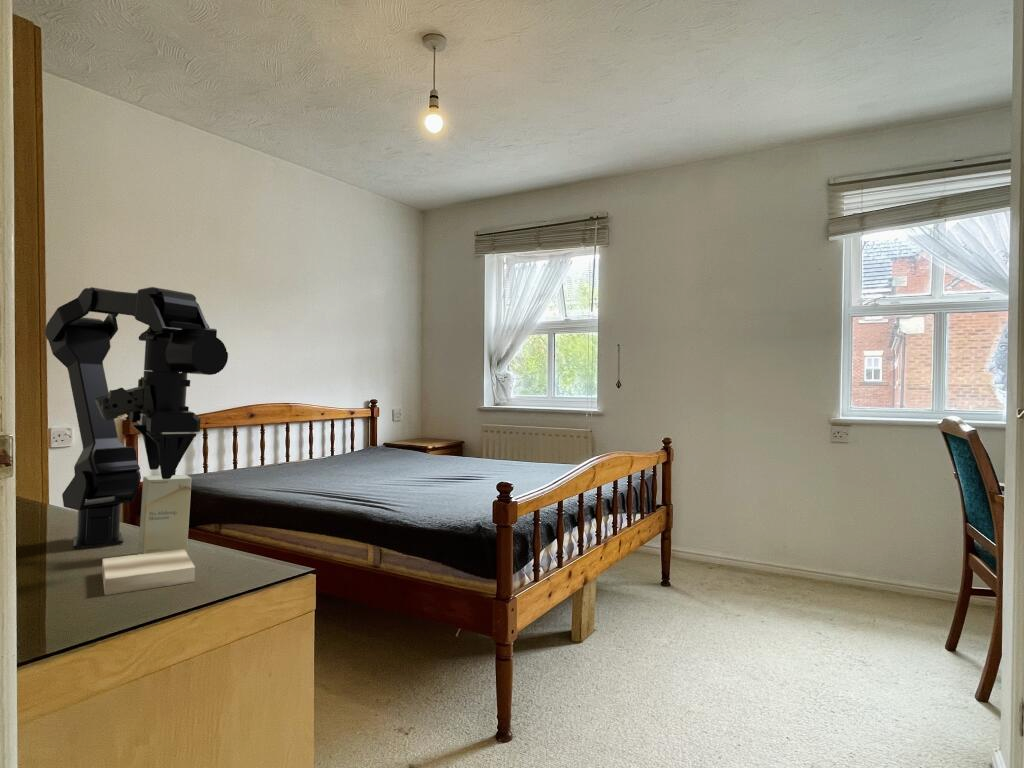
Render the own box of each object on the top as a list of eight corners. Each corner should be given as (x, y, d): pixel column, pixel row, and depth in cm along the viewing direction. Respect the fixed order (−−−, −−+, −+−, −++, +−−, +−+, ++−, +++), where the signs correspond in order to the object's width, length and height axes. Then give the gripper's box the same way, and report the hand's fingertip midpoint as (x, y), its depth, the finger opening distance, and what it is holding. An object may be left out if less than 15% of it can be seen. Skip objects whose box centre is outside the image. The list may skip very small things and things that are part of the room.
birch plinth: (101, 573, 80) (102, 558, 80) (183, 562, 86) (184, 549, 86) (104, 595, 72) (105, 579, 72) (194, 581, 78) (195, 567, 78)
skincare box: (141, 561, 86) (145, 480, 86) (137, 553, 89) (141, 475, 90) (188, 554, 90) (192, 477, 90) (183, 547, 93) (186, 473, 94)
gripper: (93, 367, 89) (87, 467, 89) (110, 370, 75) (103, 488, 75) (175, 371, 97) (169, 464, 96) (204, 374, 83) (197, 482, 83)
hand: (159, 473), depth 87 cm, fingers open, 9 cm apart
